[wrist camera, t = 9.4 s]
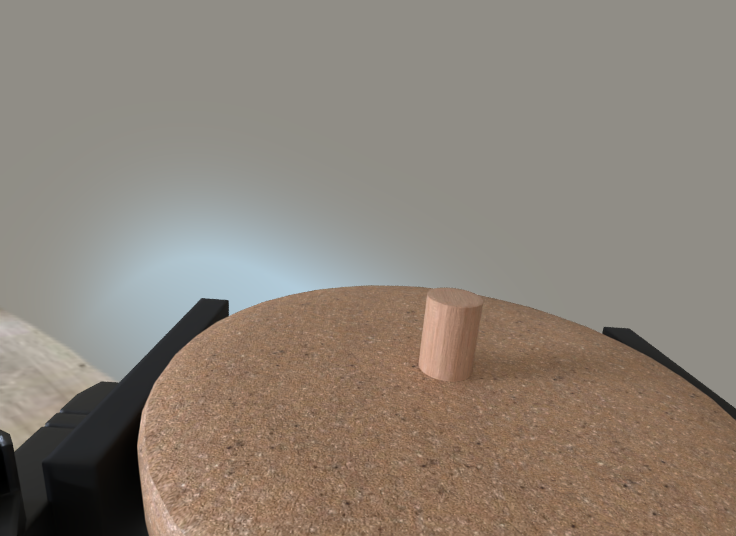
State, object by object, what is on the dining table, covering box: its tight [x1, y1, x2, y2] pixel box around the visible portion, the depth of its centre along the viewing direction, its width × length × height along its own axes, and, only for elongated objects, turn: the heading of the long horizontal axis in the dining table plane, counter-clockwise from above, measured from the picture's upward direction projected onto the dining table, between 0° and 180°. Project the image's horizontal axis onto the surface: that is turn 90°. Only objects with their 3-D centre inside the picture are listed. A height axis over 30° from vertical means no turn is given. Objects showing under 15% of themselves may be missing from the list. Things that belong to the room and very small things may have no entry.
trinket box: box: [137, 285, 736, 536], centre depth 10 cm, size 11×11×9 cm
